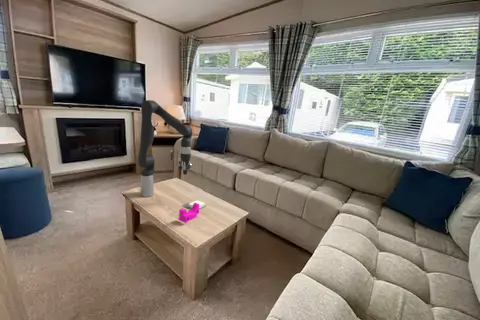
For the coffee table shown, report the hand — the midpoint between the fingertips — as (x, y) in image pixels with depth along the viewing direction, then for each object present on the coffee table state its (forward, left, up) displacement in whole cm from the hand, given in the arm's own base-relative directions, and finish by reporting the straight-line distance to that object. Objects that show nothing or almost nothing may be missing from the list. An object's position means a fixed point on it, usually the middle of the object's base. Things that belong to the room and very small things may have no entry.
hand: (185, 174), depth 167 cm
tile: (+9, 0, -21) cm, 23 cm away
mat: (+11, 0, -23) cm, 25 cm away
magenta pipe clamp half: (+21, -14, -24) cm, 34 cm away
